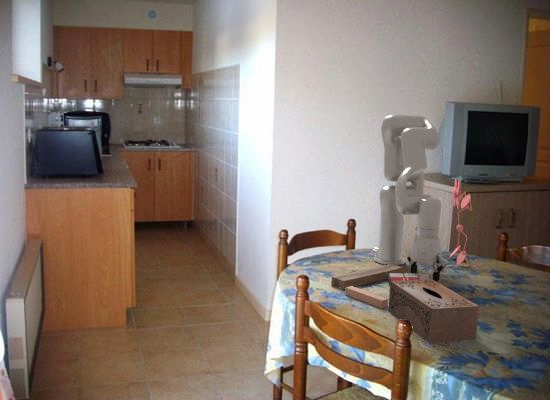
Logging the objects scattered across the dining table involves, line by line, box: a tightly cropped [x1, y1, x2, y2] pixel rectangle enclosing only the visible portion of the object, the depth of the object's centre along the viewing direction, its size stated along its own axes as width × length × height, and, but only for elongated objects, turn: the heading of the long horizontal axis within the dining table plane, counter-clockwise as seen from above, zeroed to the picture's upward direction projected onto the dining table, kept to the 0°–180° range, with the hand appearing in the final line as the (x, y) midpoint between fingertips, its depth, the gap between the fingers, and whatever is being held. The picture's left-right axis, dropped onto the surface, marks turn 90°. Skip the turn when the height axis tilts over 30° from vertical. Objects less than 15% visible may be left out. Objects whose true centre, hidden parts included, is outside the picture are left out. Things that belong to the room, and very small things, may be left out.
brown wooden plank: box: [330, 264, 404, 290], centre depth 222 cm, size 6×32×3 cm, turn 129°
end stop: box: [344, 286, 389, 309], centre depth 199 cm, size 16×3×2 cm, turn 39°
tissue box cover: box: [387, 278, 480, 344], centre depth 179 cm, size 26×14×10 cm, turn 15°
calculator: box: [387, 272, 432, 287], centre depth 216 cm, size 11×4×15 cm
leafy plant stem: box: [439, 178, 473, 268], centre depth 249 cm, size 15×26×35 cm, turn 175°
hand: (424, 278), depth 218 cm, fingers open, 9 cm apart
